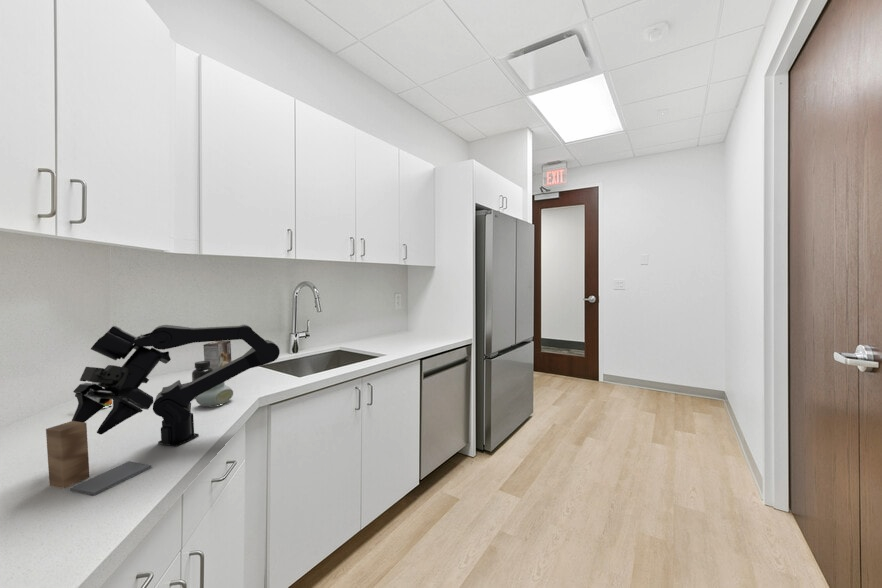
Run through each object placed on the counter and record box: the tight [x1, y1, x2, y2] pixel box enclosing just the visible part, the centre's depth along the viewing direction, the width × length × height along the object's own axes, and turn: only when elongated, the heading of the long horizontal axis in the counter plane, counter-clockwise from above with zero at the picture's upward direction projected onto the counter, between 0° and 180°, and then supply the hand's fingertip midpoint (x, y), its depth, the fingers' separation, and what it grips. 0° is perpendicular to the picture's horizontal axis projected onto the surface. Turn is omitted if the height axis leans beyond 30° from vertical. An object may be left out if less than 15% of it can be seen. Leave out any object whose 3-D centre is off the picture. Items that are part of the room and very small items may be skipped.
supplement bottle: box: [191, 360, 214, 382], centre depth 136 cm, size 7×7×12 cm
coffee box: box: [203, 340, 232, 370], centre depth 155 cm, size 9×6×16 cm
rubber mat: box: [69, 460, 152, 496], centre depth 78 cm, size 11×7×1 cm, turn 165°
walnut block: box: [45, 420, 90, 489], centre depth 77 cm, size 4×4×12 cm
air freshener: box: [195, 382, 234, 407], centre depth 124 cm, size 11×8×10 cm
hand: (84, 431), depth 80 cm, fingers open, 9 cm apart
